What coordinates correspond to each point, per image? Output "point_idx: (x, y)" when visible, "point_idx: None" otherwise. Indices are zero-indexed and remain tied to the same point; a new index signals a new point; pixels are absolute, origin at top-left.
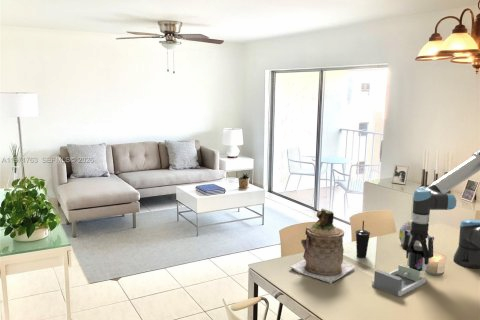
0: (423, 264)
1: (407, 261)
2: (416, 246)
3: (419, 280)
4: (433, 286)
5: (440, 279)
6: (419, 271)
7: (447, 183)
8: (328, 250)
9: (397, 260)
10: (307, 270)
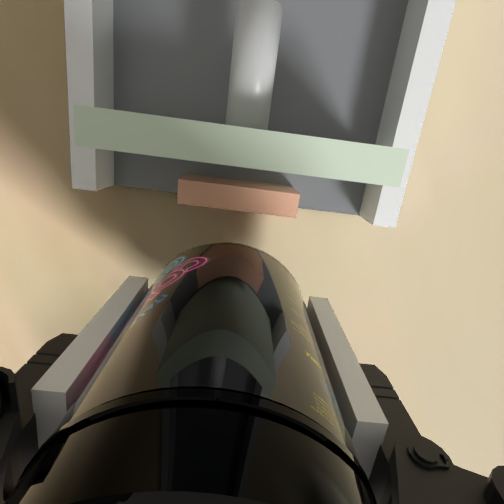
0: (99, 318)
1: (339, 324)
2: None
3: (84, 66)
4: (14, 164)
5: None
6: (82, 129)
7: None
8: None
9: (452, 446)
10: None
